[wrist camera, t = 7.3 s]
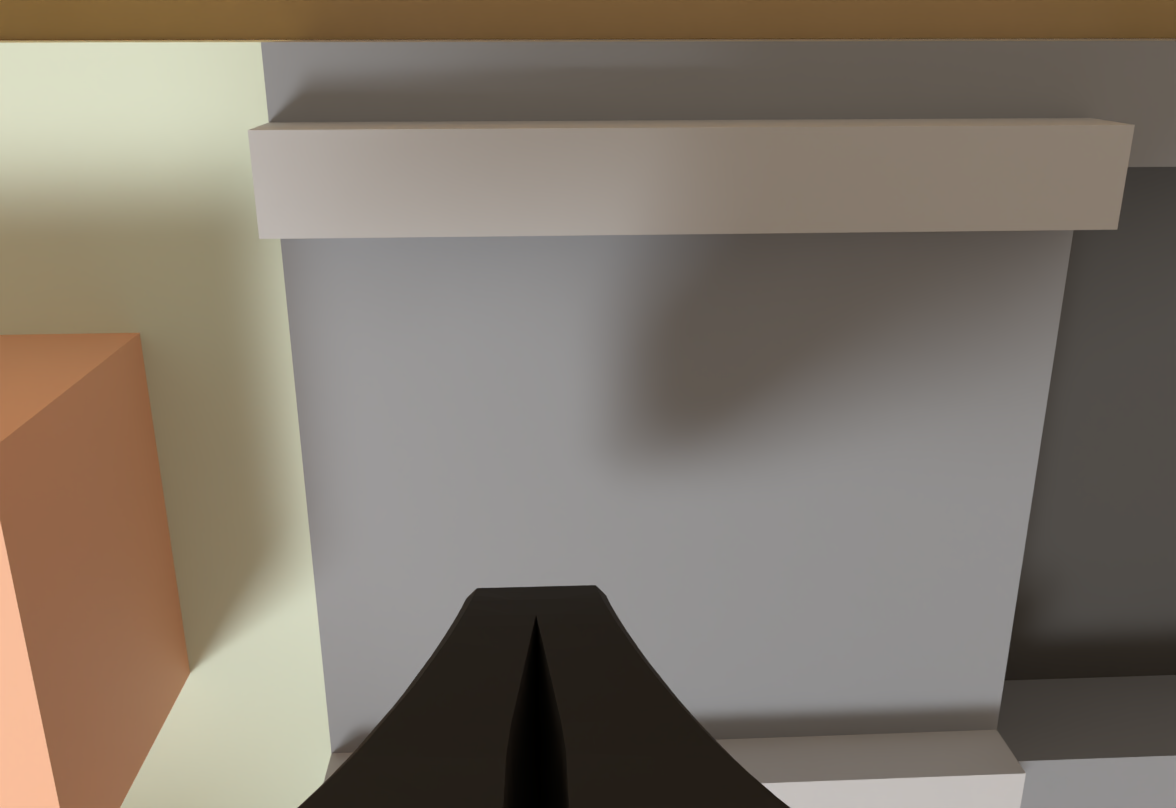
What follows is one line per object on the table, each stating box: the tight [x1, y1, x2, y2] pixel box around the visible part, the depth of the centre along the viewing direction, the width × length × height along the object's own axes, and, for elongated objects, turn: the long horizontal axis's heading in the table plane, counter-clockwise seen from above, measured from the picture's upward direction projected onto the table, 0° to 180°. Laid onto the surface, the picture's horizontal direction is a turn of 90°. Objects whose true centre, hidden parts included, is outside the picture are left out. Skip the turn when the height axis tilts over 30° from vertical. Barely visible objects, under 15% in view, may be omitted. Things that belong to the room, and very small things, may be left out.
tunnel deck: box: [0, 38, 1176, 808], centre depth 15 cm, size 12×30×4 cm, turn 90°
